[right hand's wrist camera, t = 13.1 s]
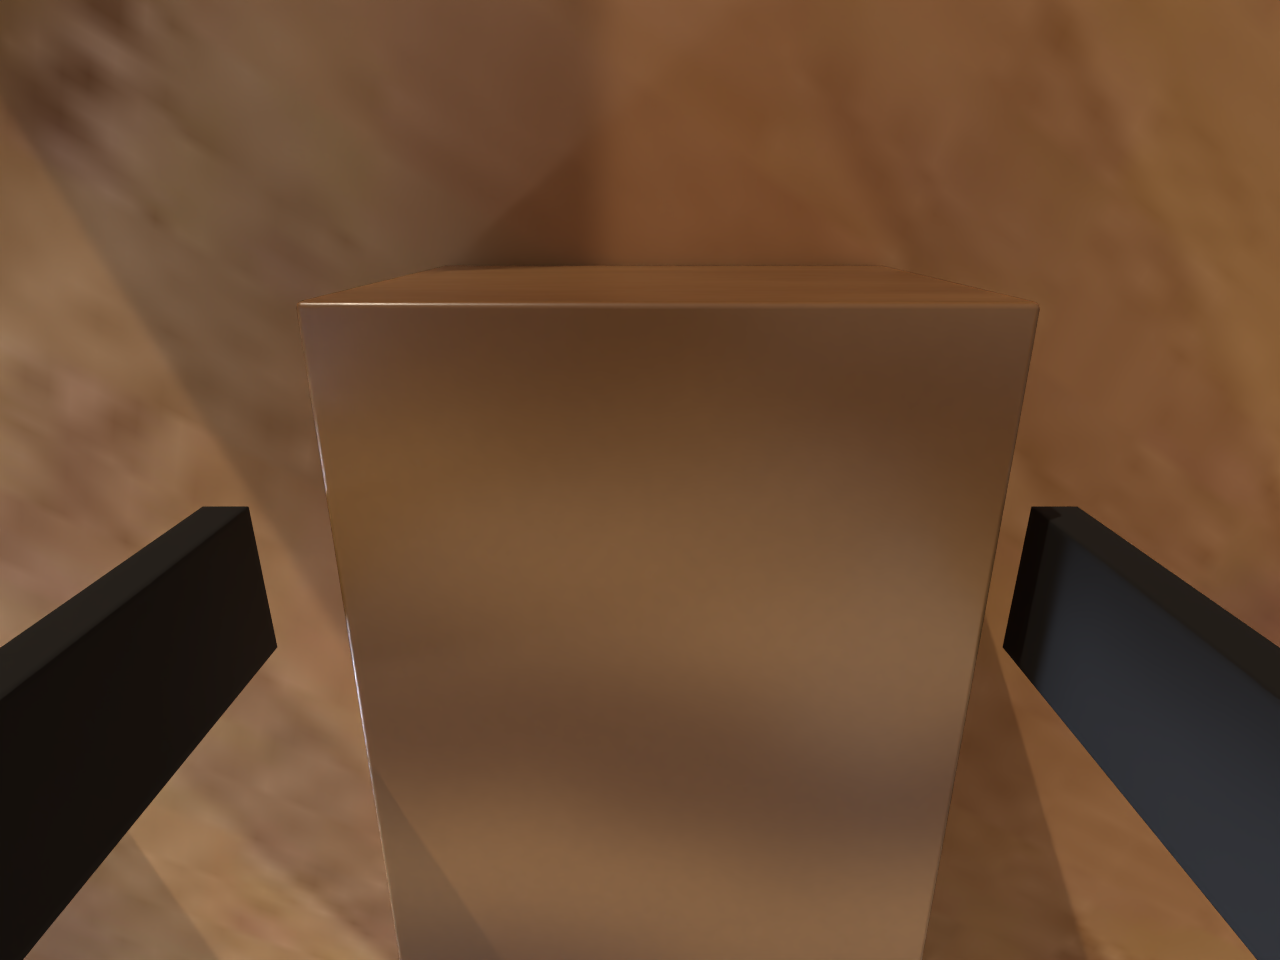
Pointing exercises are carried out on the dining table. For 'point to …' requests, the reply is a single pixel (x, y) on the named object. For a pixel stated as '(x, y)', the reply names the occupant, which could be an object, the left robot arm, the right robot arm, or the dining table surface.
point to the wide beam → (664, 595)
